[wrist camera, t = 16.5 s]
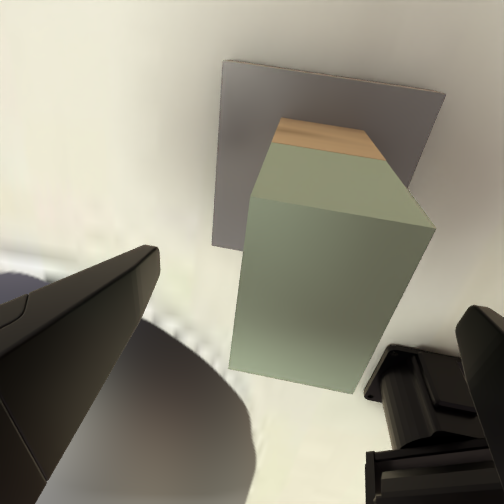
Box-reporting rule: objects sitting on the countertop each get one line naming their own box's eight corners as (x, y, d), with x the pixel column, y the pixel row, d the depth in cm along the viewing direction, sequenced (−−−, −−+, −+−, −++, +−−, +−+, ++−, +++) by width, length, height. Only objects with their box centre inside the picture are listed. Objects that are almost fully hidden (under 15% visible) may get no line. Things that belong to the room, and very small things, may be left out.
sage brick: (338, 293, 14) (352, 394, 10) (251, 276, 14) (228, 369, 10) (385, 160, 11) (436, 228, 7) (271, 142, 11) (250, 196, 7)
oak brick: (331, 237, 18) (338, 292, 14) (263, 225, 18) (251, 276, 14) (364, 130, 15) (386, 160, 11) (281, 117, 15) (271, 141, 11)
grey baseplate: (367, 261, 20) (371, 274, 19) (217, 234, 21) (211, 245, 20) (434, 90, 15) (446, 94, 14) (229, 60, 16) (222, 60, 14)
